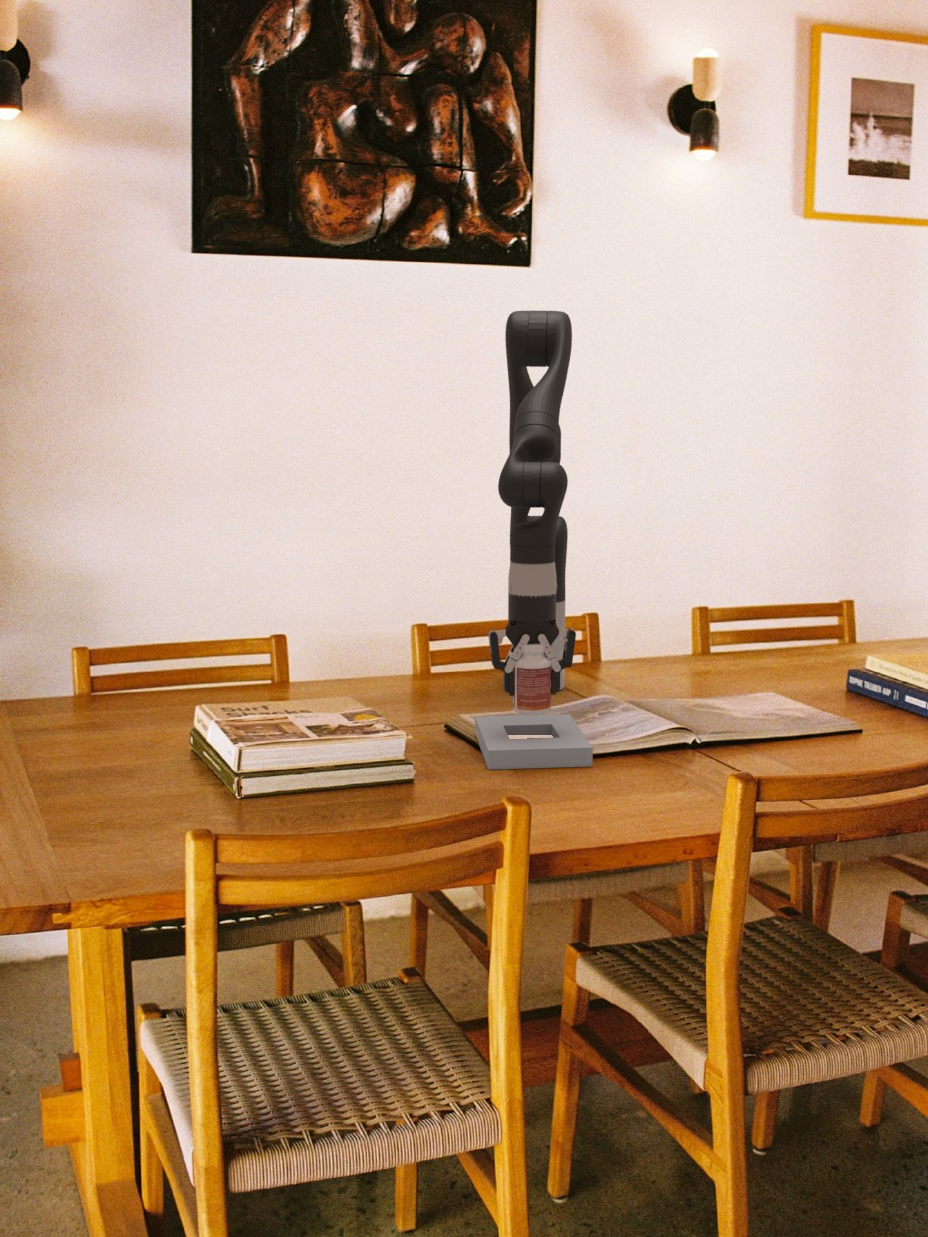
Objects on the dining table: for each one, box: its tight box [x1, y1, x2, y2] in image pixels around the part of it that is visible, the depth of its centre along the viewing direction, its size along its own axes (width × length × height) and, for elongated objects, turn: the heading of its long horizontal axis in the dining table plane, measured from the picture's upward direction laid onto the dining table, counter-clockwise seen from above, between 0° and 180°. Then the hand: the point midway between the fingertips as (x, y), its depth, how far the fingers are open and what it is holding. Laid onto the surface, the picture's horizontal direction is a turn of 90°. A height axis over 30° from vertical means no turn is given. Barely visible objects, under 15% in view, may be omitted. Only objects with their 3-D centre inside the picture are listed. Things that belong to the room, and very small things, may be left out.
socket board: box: [474, 713, 594, 770], centre depth 200 cm, size 20×16×3 cm
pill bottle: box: [512, 644, 552, 715], centre depth 198 cm, size 6×6×11 cm
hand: (531, 693), depth 199 cm, fingers closed on pill bottle, 6 cm apart
